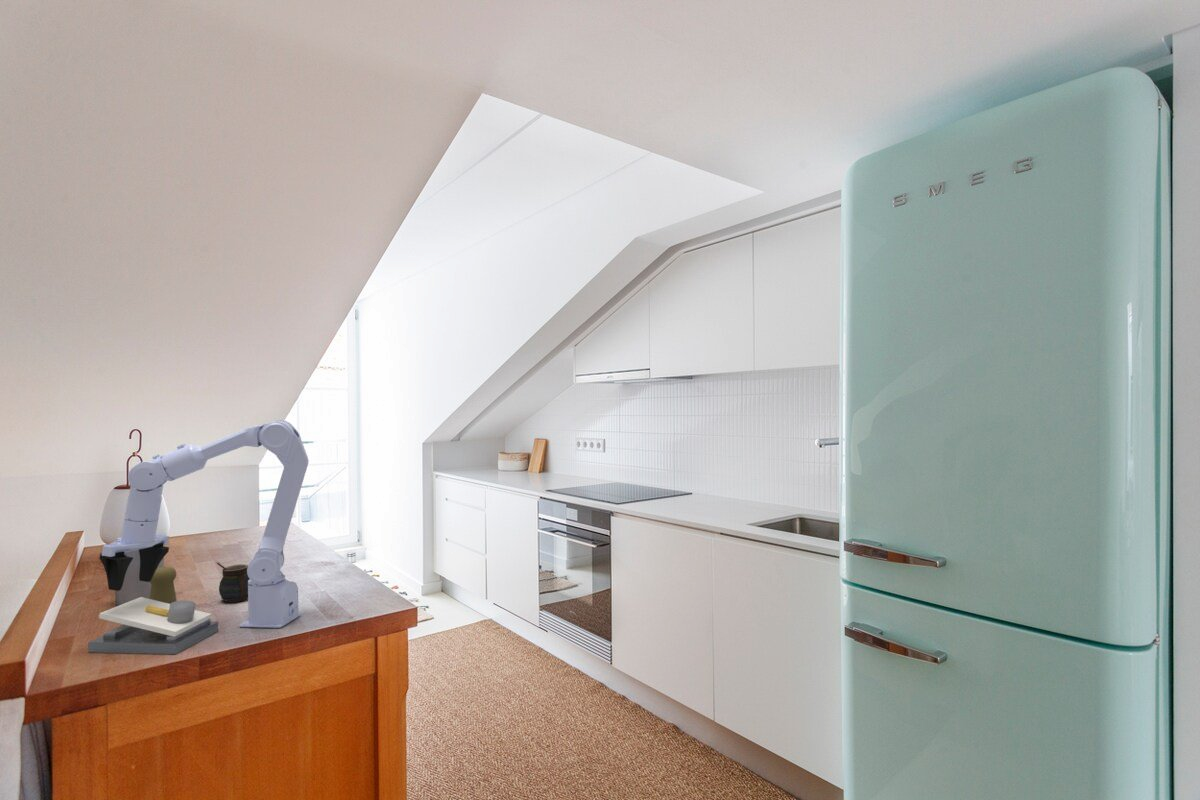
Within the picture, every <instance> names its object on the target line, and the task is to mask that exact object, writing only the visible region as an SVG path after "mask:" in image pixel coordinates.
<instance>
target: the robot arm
mask: <svg viewBox="0 0 1200 800" xmlns="http://www.w3.org/2000/svg"><path fill="white" fill-rule="evenodd" d="M261 446H263V447H264V449H266V450H268V451H269V452H270V453H272V454H273V455H275V457H276V458H277V459H278V460H279V462H280V463H281V464H282V466H283V470H282V473H281V477H280V480H279V483H278V486H277V489H276V493H275V496H274V499H273V503H272V507H271V509H270V512H269V516H268V518H267V522H266V526H265V529H264V532H263V536H262V538H261V542H260V545H259V546H258V550H257V551H256V553H255V554H254V555H253V558H252V559H251V560H250V562H249V563H248V564H247V565H248V568H247V574H248V577H249V578H250V579H249V580H248V598H247V606H248V607H247V608H248V610H247V611H248V612H247V613H248V615H247V617H248V619H247V620H244V621H243V622H241V623H239V624H238V626H239V627H240V628H272V629H273V628H274V629H275V628H278V629H279V628H283V627H284V626H286V625H287V624H289V623H290V622H292V621H294V620H295V619H297V618H299V617H300V616H301V613H300V612H299V586H298V585H297V582H295V581H290V580H287V579H286V574H284V573H283V572H282V571H281V569H282V567H283V566H284V564H285V554H284V547H285V544H286V540H287V536H288V533H289V529H290V525H291V523H292V519H293V516H294V512H295V509H296V506H297V502H298V499H299V495H300V492H301V490H302V486H303V482H304V479H305V476H306V472H307V468H308V466H309V457H308V454H307V452H306V449H305V446H304V443H303V440H302V436H301V434H300V432H299V431H298V430H297V429H296V428H295V427H294V426H293V425H292V424H291V423H290V422H288V421H287V420H283V419H282V420H279V419H278V420H275V421H271V422H268V423H263V424H260V425H259V424H258V425H255V426H251V427H247V428H243V429H241V430H238V431H236V432H233V433H231V434H228V435H227V436H224V437H222V438H220V439H219V438H218V439H217V440H215V441H212V442H210V443H207V444H205V445H203V446H199V445H196V444H192V443H189V444H187V445H186V443H182V444H180V445H177V447H176V448H177V449H175V450H172V451H170V452H167V453H164V454H156V455H153V456H152V460H146V461H139V463H138V464H136V465H134V466H133V467H132V468H131V469H130V470H129V471H128V475H127V480H128V482H129V485H130V487H129V493H128V496H127V501H126V507H125V512H124V520H123V525H122V531H121V537H117V538H116V541H114V542H111V543H109V544H108V543H107V544H105V545H103V546H102V550H101V553H99V560H100V562H101V563H102V565H103V566H102V567H103V568H104V571H105V574H106V580H107V587H108V590H111V591H114V592H115V591H119V590H121V588H122V585H123V582H124V578H125V574H126V571H127V569H128V566H129V565H130V563H131V561H132V560H133V557H127V556H126V555H124V553H125V552H130V551H135V550H139V554H140V572H139V580H140V581H145V582H150V581H151V580H152V577H153V575H154V573H155V571H156V569H157V567H158V565H159V563H160V562H161V560H162V559H163V557H166V555H167V554H168V552H169V549H170V547H169V546H166V545H168V543H169V535H167V534H166V535H165V534H162V533H161V534H157V529H158V523H159V516H160V511H161V505H162V499H163V496H162V495H163V491H164V490H163V489H164V484H166V483H167V482H172V481H175V480H178V479H180V478H182V477H186V476H187V475H190V474H192V473H195V472H198V471H200V470H202V469H204V468H205V467H206V464H207V462H208V460H210V459H213V458H215V457H216V458H217V457H219V456H221V455H224V454H227V453H229V452H233V451H235V450H238V449H241V448H243V447H252V448H253V447H254V448H259V447H261ZM156 534H157V535H156Z"/></svg>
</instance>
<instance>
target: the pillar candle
mask: <svg viewBox="0 0 1200 800" xmlns="http://www.w3.org/2000/svg"><path fill="white" fill-rule="evenodd" d="M124 555H126V556H127V557H133V560H132V561H131V563H130V565H129V566H128V569H127V571H126V574H125V578H124V582H123V585H122V588H121V590H119V591H115V590H114V595H115V597H114V598H115V602H114V603H115V607H117V606H119V605H122V604H124V603H127V602H129V601H132V600H134V599H137V598H139V597H143V598H147V599H149V597H150V590H151V583H150V582H145V581H140V580H139V572H140V554H139V550H135V551H130V552H125V553H124ZM164 557H165V556H164ZM164 557H163V559H162V560H161V562H160V563H159V565H158V567H157V568H160V567H165V566H164V565H165V563H164Z"/></svg>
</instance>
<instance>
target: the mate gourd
mask: <svg viewBox="0 0 1200 800" xmlns="http://www.w3.org/2000/svg"><path fill="white" fill-rule="evenodd" d="M216 564H217V565H218V566H219V567H220V568H222V570H221V571H222V578H221V579H220V582H219V587H218V592H219V595H220V598H221V600H223V601H224V602H226V603H237V602H243V601H245V600H246V599H247V600H248V580H249V579H250V578H249V577H248V574H247V568H248V565H249V564H243V563H241V564H240V563H239V564H233V565H228V566H224V565H222V564H221V563H220V562H216Z"/></svg>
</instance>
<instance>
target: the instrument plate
mask: <svg viewBox="0 0 1200 800" xmlns="http://www.w3.org/2000/svg"><path fill="white" fill-rule="evenodd" d="M196 607H197V606H196V602H194V601H192V600H187V599H186V600H183V599H182V600H177V601H175V602H172V603H171V604H168V603H164V602H160V601H156V600H152V599H147V598H143V597H139V598H137V599H134V600H132V601H129V602H127V603H124V604H122V605H119V606H114V607H112V608H109V609H107V610H105V611H102V612H99V615H98V619H101V620H105V621H109V622H113V623H117V624H121V625H123V624H124V625H128V626H133V627H137V628H141V629H145V630H149V631H153V632H157V633H161V634H165V635H169V636H173V637H175V636H177V635H179V634H181V633H183V632H185V631H187V630H189V629H191V628H193V627H195V626H197V625H199V624H201V623H203V622H205V621H207V620H208V619H210V620H211V617H212V613H210V612H209V613H208V612H204V611H201V610H197V609H196Z"/></svg>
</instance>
